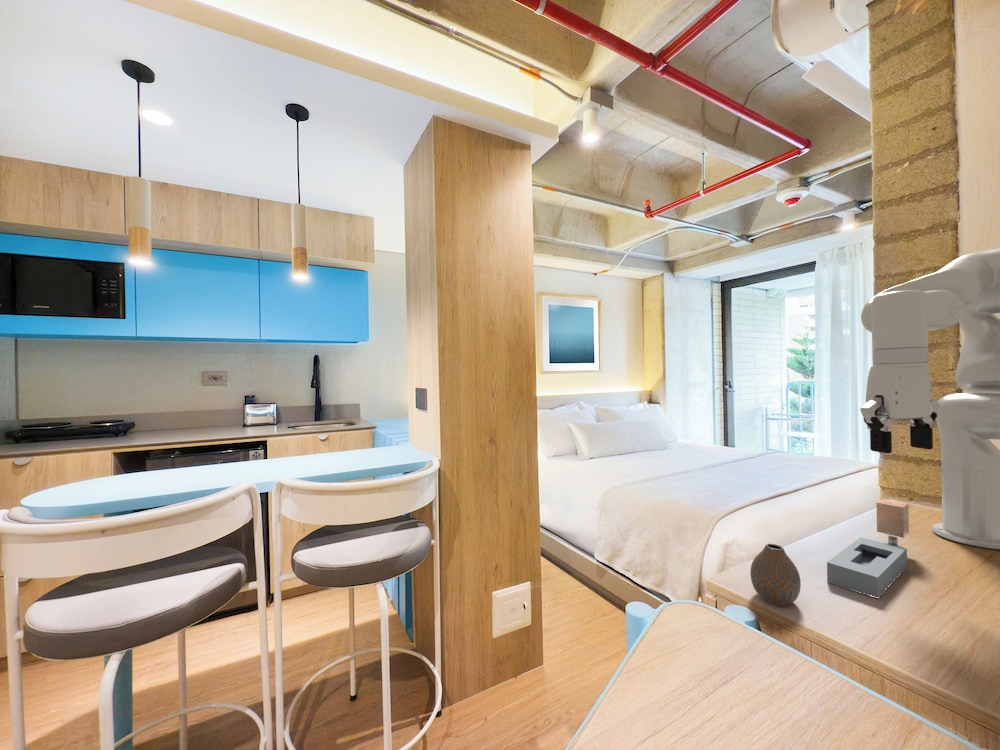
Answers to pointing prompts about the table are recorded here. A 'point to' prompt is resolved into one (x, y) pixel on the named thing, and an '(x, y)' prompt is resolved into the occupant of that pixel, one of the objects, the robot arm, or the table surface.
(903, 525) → the key
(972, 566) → the table surface
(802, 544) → the table surface
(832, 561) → the keyhole plate
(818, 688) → the table surface
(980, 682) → the table surface
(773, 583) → the vase
